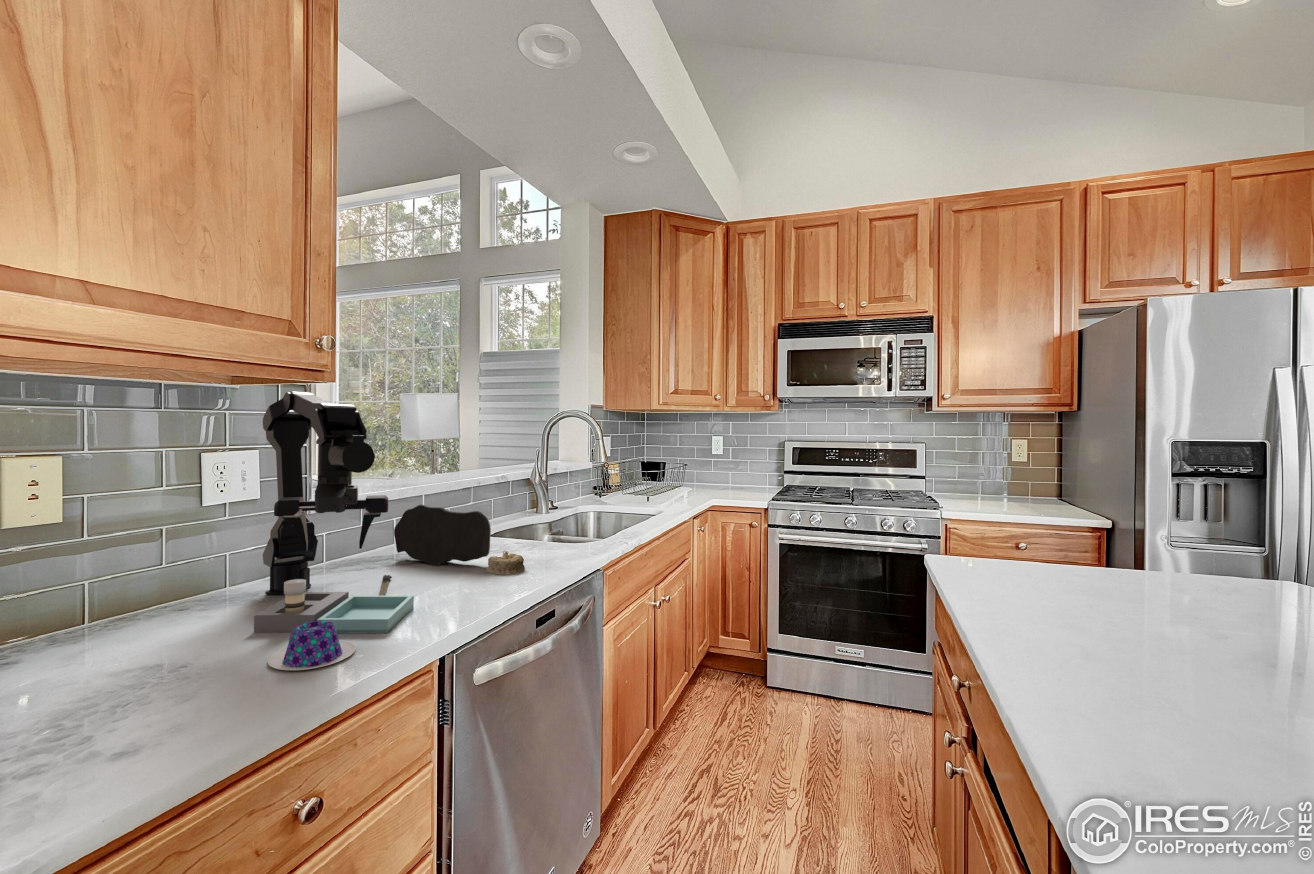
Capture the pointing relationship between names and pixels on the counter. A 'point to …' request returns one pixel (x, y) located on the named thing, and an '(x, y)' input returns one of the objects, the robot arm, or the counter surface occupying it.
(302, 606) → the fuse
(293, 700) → the counter surface
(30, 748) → the counter surface
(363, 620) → the parts tray
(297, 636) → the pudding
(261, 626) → the block
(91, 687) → the counter surface
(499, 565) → the cake
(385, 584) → the tomahawk
